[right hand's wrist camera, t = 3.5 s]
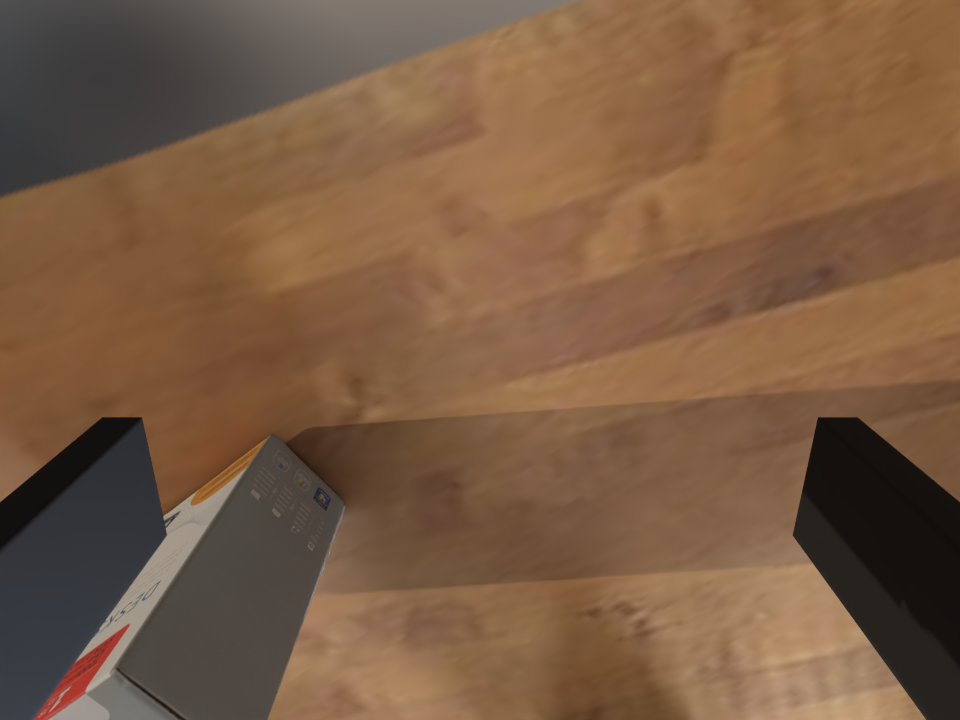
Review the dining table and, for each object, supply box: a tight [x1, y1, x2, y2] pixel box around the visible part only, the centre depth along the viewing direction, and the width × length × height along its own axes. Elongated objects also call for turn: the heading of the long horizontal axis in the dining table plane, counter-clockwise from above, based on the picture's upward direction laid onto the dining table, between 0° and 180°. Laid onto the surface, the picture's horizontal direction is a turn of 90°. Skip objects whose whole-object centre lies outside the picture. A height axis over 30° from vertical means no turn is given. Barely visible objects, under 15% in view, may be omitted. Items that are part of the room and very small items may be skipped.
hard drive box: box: [34, 435, 345, 720], centre depth 37 cm, size 16×8×20 cm, turn 128°
